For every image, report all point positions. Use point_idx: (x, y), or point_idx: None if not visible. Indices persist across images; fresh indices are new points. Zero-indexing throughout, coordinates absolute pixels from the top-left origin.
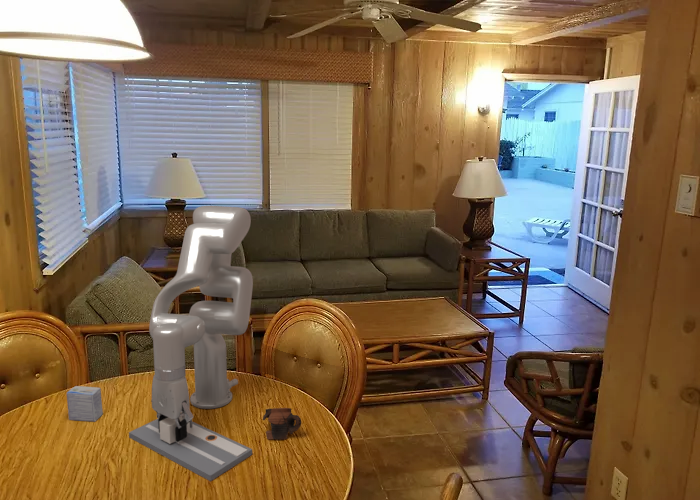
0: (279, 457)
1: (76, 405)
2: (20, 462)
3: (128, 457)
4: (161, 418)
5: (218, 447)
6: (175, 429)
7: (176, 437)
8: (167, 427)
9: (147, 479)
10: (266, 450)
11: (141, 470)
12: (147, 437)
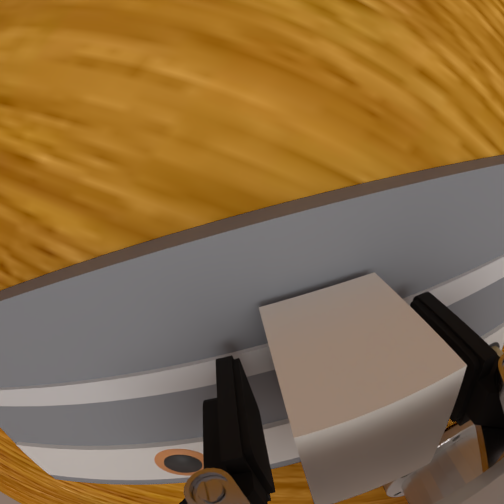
0: (34, 476)
1: None
2: None
3: (356, 35)
4: (483, 377)
5: (91, 448)
6: (235, 441)
7: (223, 381)
8: (323, 405)
9: (37, 55)
10: (72, 484)
11: (145, 37)
12: (450, 212)
